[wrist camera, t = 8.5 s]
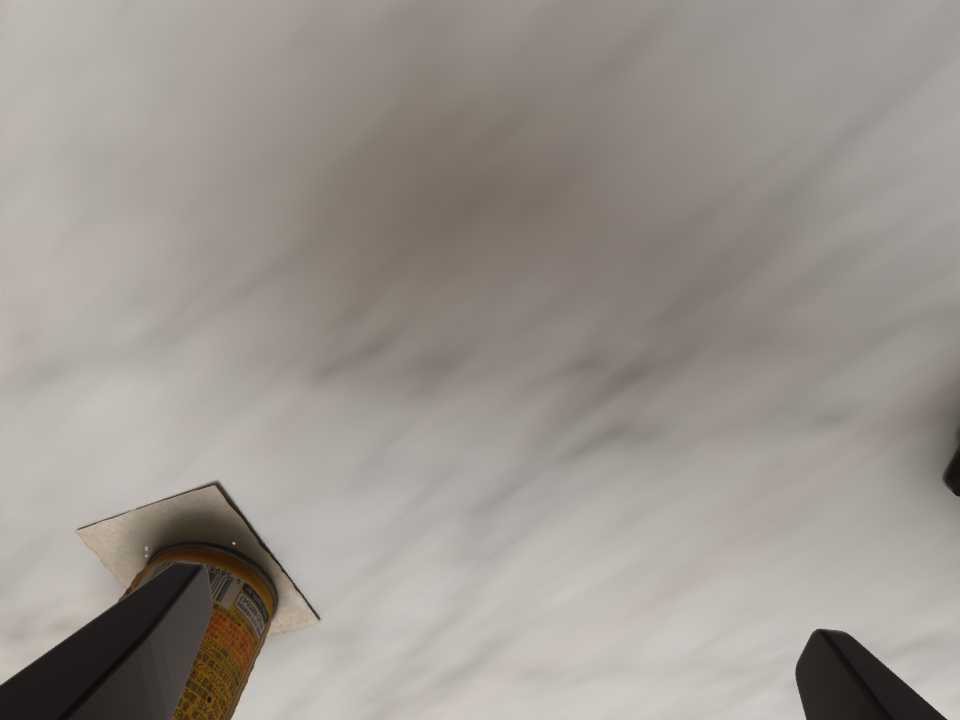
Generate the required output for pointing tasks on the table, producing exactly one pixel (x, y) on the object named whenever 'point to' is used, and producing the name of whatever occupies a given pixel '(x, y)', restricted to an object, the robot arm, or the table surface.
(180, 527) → the condiment
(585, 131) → the table surface
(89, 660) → the robot arm
